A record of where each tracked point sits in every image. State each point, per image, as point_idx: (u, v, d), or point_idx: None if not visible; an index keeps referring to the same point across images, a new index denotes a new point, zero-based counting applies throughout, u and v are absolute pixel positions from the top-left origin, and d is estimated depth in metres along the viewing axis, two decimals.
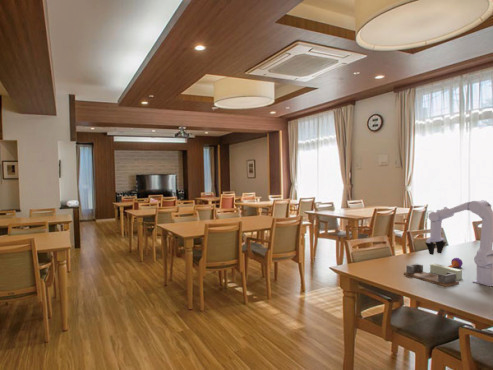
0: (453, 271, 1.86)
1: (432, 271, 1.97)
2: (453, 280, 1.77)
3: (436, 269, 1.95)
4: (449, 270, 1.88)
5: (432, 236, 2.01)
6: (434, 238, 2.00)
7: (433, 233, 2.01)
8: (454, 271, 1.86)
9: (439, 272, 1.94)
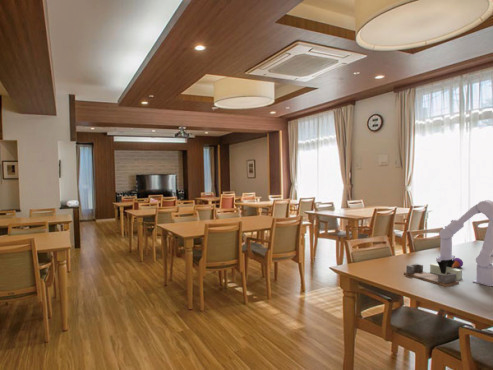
0: (453, 271, 1.86)
1: (432, 271, 1.97)
2: (453, 280, 1.77)
3: (436, 269, 1.95)
4: (449, 270, 1.88)
5: (442, 254, 1.91)
6: (444, 256, 1.90)
7: (443, 251, 1.90)
8: (454, 271, 1.86)
9: (439, 272, 1.93)
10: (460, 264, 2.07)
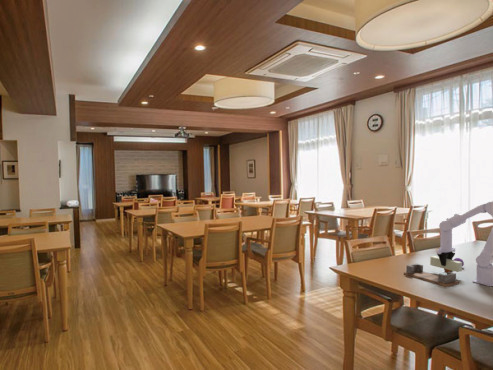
0: (453, 263, 1.86)
1: (432, 264, 1.97)
2: (453, 280, 1.77)
3: (436, 261, 1.95)
4: (449, 262, 1.88)
5: (442, 246, 1.91)
6: (444, 249, 1.90)
7: (443, 243, 1.90)
8: (454, 263, 1.86)
9: (439, 265, 1.93)
10: None
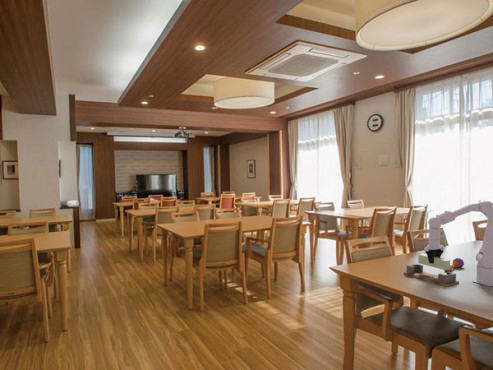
0: (441, 261, 1.81)
1: (420, 262, 1.93)
2: (453, 280, 1.77)
3: (424, 259, 1.90)
4: (437, 260, 1.83)
5: (430, 244, 1.86)
6: (432, 246, 1.85)
7: (431, 240, 1.85)
8: (442, 261, 1.81)
9: (427, 263, 1.89)
10: (461, 264, 2.06)
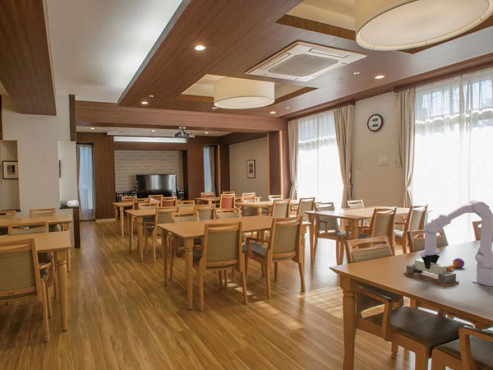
0: (437, 267, 1.80)
1: (416, 267, 1.91)
2: (453, 280, 1.77)
3: (420, 265, 1.89)
4: (433, 266, 1.82)
5: (427, 249, 1.84)
6: (429, 251, 1.83)
7: (428, 246, 1.84)
8: (438, 267, 1.79)
9: (423, 268, 1.87)
10: (461, 264, 2.06)
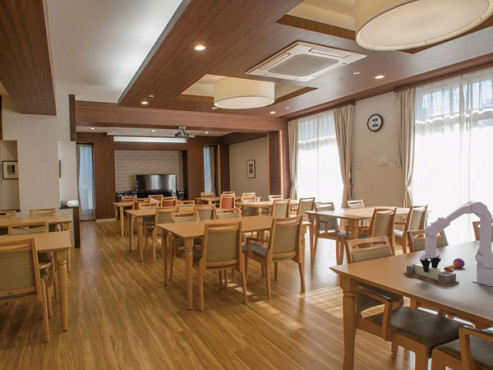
0: (437, 272, 1.80)
1: (416, 272, 1.91)
2: (453, 280, 1.77)
3: (420, 270, 1.89)
4: (433, 271, 1.82)
5: (426, 252, 1.84)
6: (429, 254, 1.84)
7: (428, 249, 1.84)
8: (438, 272, 1.80)
9: (423, 273, 1.87)
10: (461, 264, 2.06)
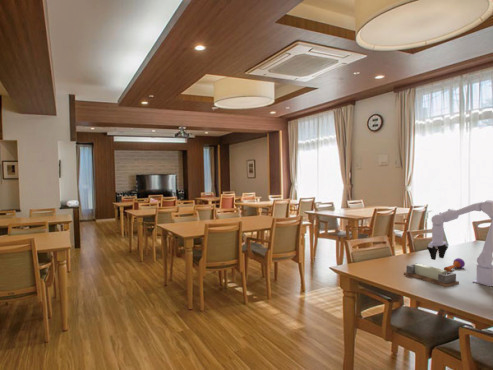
0: (437, 272, 1.80)
1: (416, 272, 1.91)
2: (453, 280, 1.77)
3: (420, 270, 1.89)
4: (433, 271, 1.82)
5: (434, 240, 1.92)
6: (436, 242, 1.91)
7: (435, 237, 1.91)
8: (438, 272, 1.80)
9: (423, 273, 1.87)
10: (461, 264, 2.06)
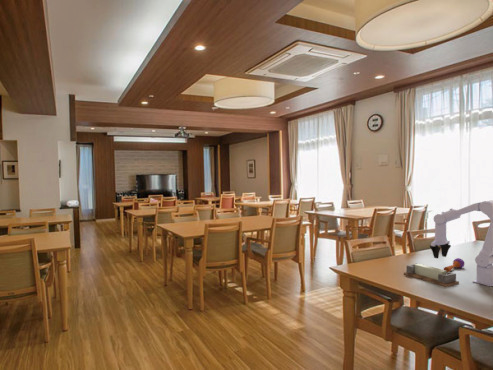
0: (437, 272, 1.80)
1: (416, 272, 1.91)
2: (453, 280, 1.77)
3: (420, 270, 1.89)
4: (433, 271, 1.82)
5: (437, 239, 1.95)
6: (439, 241, 1.94)
7: (438, 236, 1.94)
8: (438, 272, 1.80)
9: (423, 273, 1.87)
10: (461, 264, 2.06)
